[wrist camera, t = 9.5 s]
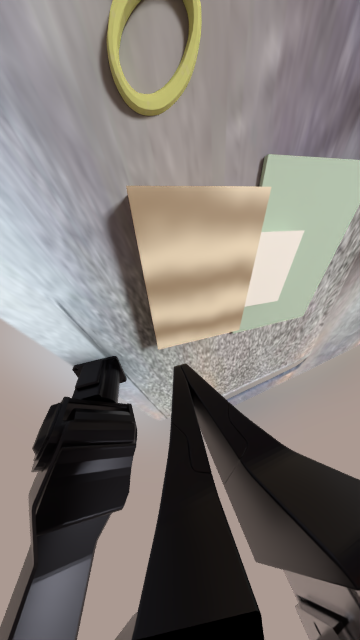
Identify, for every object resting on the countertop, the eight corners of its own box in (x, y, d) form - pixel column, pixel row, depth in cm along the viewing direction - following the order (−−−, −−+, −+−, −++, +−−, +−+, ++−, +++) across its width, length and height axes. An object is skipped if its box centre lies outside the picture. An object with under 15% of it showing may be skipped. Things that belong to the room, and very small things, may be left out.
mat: (300, 315, 31) (302, 316, 31) (231, 332, 28) (232, 333, 27) (375, 163, 18) (381, 161, 18) (264, 156, 15) (268, 154, 14)
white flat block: (268, 296, 25) (277, 300, 23) (234, 302, 23) (242, 307, 22) (290, 230, 19) (304, 230, 18) (248, 232, 18) (259, 232, 16)
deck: (229, 321, 26) (239, 329, 24) (155, 337, 23) (158, 349, 21) (250, 193, 16) (271, 186, 14) (127, 194, 13) (126, 185, 11)
